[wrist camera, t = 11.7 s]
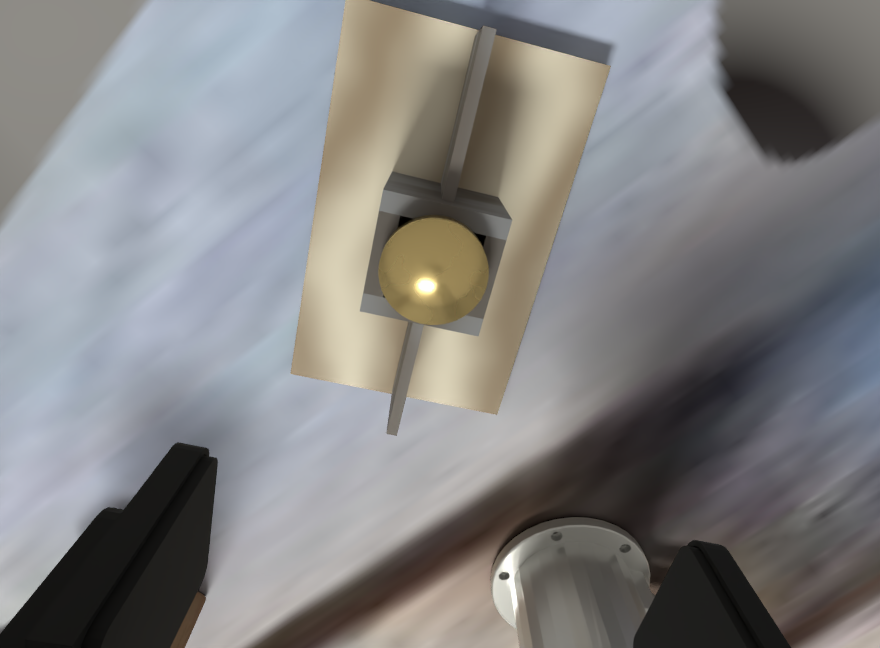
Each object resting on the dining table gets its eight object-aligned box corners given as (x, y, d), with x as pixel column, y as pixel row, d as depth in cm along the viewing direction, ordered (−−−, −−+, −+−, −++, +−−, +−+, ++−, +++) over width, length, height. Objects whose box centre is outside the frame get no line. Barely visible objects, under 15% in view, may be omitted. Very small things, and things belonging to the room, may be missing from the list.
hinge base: (605, 66, 30) (653, 60, 23) (495, 406, 38) (508, 471, 32) (349, -3, 28) (324, -31, 22) (294, 366, 37) (264, 425, 30)
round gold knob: (489, 207, 30) (501, 233, 25) (466, 293, 32) (472, 334, 27) (398, 186, 30) (390, 207, 24) (380, 274, 32) (369, 312, 26)
